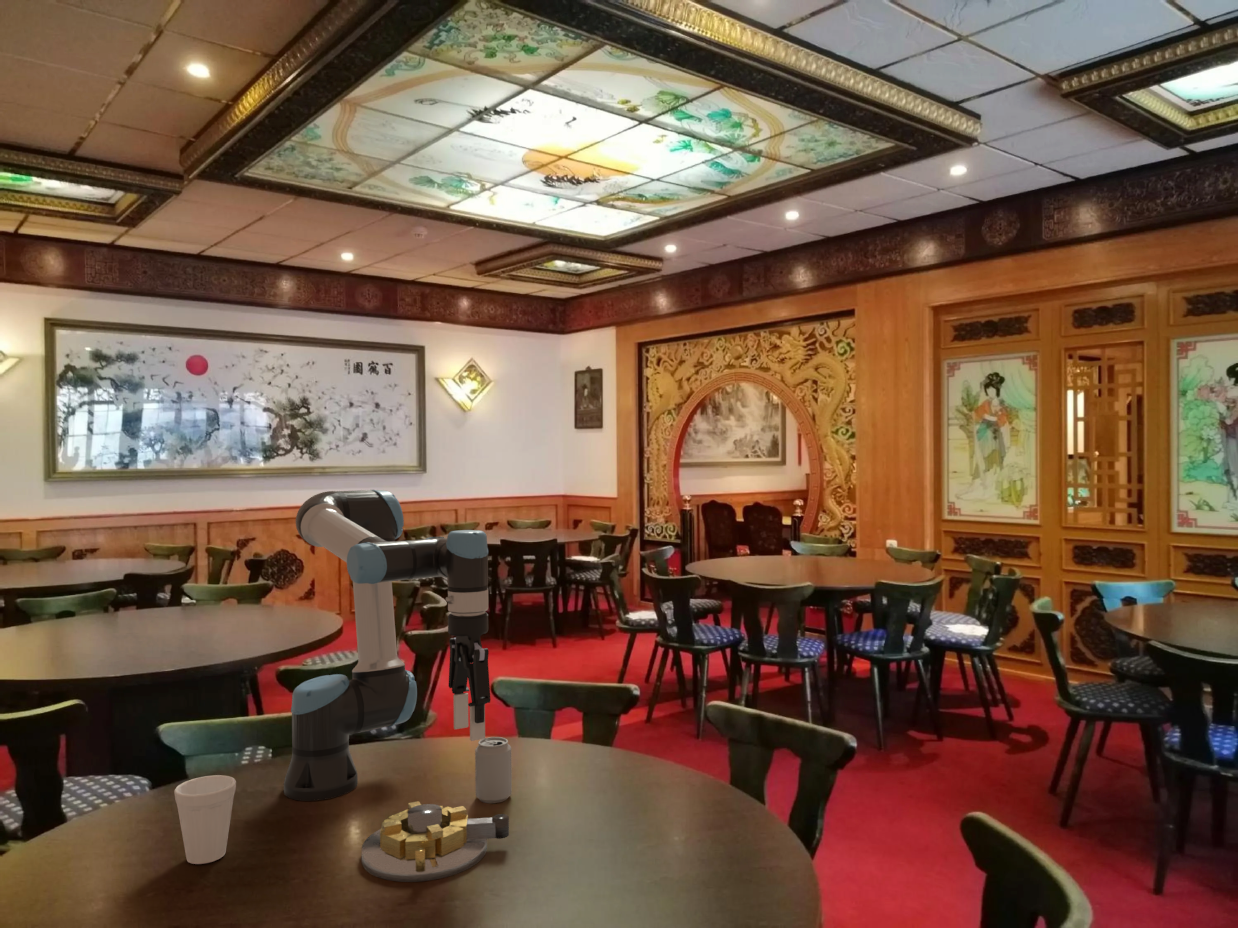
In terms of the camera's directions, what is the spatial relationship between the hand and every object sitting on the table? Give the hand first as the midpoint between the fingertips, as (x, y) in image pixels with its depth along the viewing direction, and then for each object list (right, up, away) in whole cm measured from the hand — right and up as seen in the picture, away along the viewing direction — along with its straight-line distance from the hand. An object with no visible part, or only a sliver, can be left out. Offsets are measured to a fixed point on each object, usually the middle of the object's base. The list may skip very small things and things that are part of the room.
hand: (469, 733), depth 162 cm
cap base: (-7, -19, -7) cm, 22 cm away
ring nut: (-3, -17, -7) cm, 18 cm away
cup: (-45, -20, -9) cm, 50 cm away
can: (+2, -19, +18) cm, 26 cm away
